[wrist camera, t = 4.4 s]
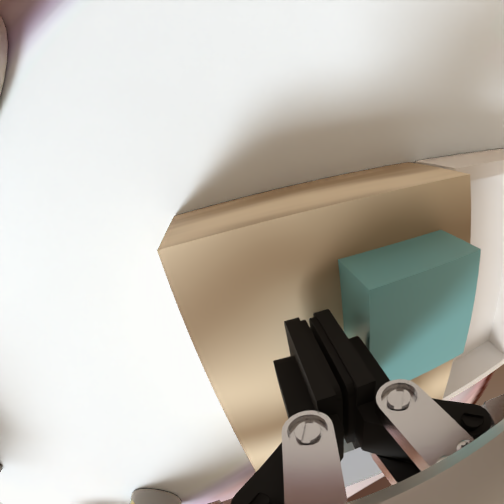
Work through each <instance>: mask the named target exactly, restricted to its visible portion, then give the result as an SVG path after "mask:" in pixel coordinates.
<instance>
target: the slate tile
mask: <svg viewBox="0 0 504 504" xmlns="http://www.w3.org/2000/svg"><path fill="white" fill-rule="evenodd" d="M340 463H341V468H342V474H343V479H344V485H345V487H347V486H350V485H352V484H355V483H358V482H360V481H363V480H366V479H368V478H371V477H373V476H375V475H378V474H380V473H382V471H381V470H380V468H379V467H378V466H377V464H376V463H375V461H374V460H373V459H372V457H371V455H370V452H366V451H363V450H362V449H361V447H360V448H357V449H355V448H354V446H353V444H352V442H350V443H348V444H347V443H346V441H345V439H344V457H343V459H342V460H341V462H340Z"/></svg>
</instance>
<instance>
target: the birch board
mask: <svg viewBox="0 0 504 504" xmlns="http://www.w3.org/2000/svg"><path fill="white" fill-rule="evenodd" d="M438 230H443V231H445V232H447V233H449V234H452V235H454V236H456V237H458V238H460V239H462V240H464V241H466V242H468V243H470V239H471V182H470V174H467V173H463V172H458V171H453V170H449V169H444V168H439V167H434V166H428V165H423V164H417V163H411V162H406V163H400V164H395V165H389V166H384V167H378V168H373V169H368V170H363V171H358V172H353V173H348V174H343V175H338V176H333V177H329V178H324V179H319V180H315V181H310V182H306V183H301V184H297V185H292V186H288V187H284V188H280V189H275V190H271V191H267V192H263V193H259V194H255V195H251V196H247V197H243V198H239V199H235V200H231V201H227V202H224V203H220V204H216V205H212V206H209V207H205V208H201V209H198V210H194V211H190V212H187V213H183V214H180V215H176V216H174V217H173V219H172V221H171V223H170V225H169V227H168V229H167V231H166V233H165V236H164V238H163V240H162V242H161V244H160V246H159V248H158V250H157V251H158V254H159V256H160V259H161V262H162V265H163V268H164V271H165V273H166V276H167V279H168V281H169V284H170V287H171V289H172V292H173V295H174V297H175V300H176V303H177V305H178V308H179V310H180V313H181V315H182V318H183V320H184V323H185V325H186V328H187V330H188V332H189V335H190V337H191V340H192V342H193V344H194V347H195V349H196V351H197V354H198V356H199V358H200V361H201V363H202V365H203V367H204V370H205V372H206V374H207V376H208V378H209V381H210V383H211V385H212V387H213V389H214V391H215V393H216V396H217V398H218V400H219V402H220V404H221V406H222V408H223V410H224V412H225V414H226V416H227V418H228V420H229V422H230V424H231V426H232V428H233V430H234V432H235V434H236V436H237V438H238V440H239V442H240V444H241V446H242V447H243V449H244V451H245V453H246V455H247V457H248V459H249V460H250V462H251V464H252V466H253V468H254V469H255V471H256V472H257V471H258V469H259V468H260V467H261V466H262V465H263V464H264V463H265V461H266V460H267V459H268V458H269V457H270V456H271V454H272V453H273V452H274V451H275V450H276V448H277V447H278V446H279V445H280V444H281V442H282V427H283V425H284V424H285V422H286V421H287V420H288V416H287V412H286V409H285V405H284V402H283V398H282V395H281V391H280V387H279V383H278V380H277V376H276V372H275V367H274V363H273V361H274V360H278V359H282V358H285V357H289V356H290V351H289V345H288V340H287V335H286V330H285V325H284V321H287V320H290V319H294V318H298V317H299V318H300V320H306V321H307V323H308V325H309V327H310V323H309V318H312V317H313V314H314V313H315V312H319V311H322V310H326V309H329V310H330V312H331V313H332V315H333V316H334V318H335V319H336V321H337V322H338V324H339V325H340V327H341V328H342V330H343V331H344V325H343V311H342V298H341V286H340V276H339V266H338V259H341V258H345V257H349V256H352V255H356V254H359V253H363V252H366V251H370V250H374V249H377V248H381V247H384V246H387V245H391V244H394V243H398V242H401V241H405V240H408V239H411V238H415V237H418V236H422V235H425V234H428V233H431V232H435V231H438ZM453 359H454V358H453ZM453 359H451V360H449V361H448V362H446V363H444V364H442V365H440V366H438V367H436V368H434V369H432V370H430V371H428V372H426V373H424V374H422V375H420V376H418V377H416V378H414V379H412V380H409V381H412V382H414V383H415V384H417V385H418V386H419V387H420V388H421V389H422V390H423V391H424V392H425V393H427V394H428V395H429V396H430V397H431V398H434V399H440V400H442V399H443V395H444V392H445V389H446V385H447V382H448V378H449V375H450V371H451V367H452V363H453Z"/></svg>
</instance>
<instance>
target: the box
mask: <svg viewBox="0 0 504 504" xmlns="http://www.w3.org/2000/svg"><path fill="white" fill-rule="evenodd" d="M415 163H417V164H423V165H428V166H434V167H439V168H444V169H449V170H453V171H458V172H463V173H467V174H470V182H471V239H470V244H472V245H474V246H476V247H478V248H480V249H481V254H480V264H479V273H478V280H477V287H476V294H475V300H474V306H473V311H472V317H471V321H470V326H469V331H468V335H467V340H466V344H465V348H464V352H463V353H462V354H460V355H459V356H457V357H455V358H454V359H453V363H452V367H451V371H450V375H449V378H448V382H447V385H446V389H445V392H444V395H443V399H442V400H446V401H448V400H450V399H451V398H453V397H455V396H456V395H458V394H460V393H461V392H463V391H464V390H466V389H468V388H469V387H471V386H472V385H474V384H475V383H477V382H478V381H480V380H481V379H483V378H484V377H486V376H487V375H489V374H490V373H491V372H493V371H494V370H496V369H497V368H498V367H500V366H501V365H502V364H504V148H503V149H494V150H486V151H478V152H471V153H463V154H456V155H450V156H443V157H436V158H430V159H424V160H418V161H415Z"/></svg>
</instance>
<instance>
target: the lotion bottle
mask: <svg viewBox="0 0 504 504" xmlns="http://www.w3.org/2000/svg"><path fill="white" fill-rule="evenodd" d="M130 504H181V500H180V498H179V497H178V496H176V495H174V494H172V493H169V492H166V491H162V490H156V489H138V490H135V491H134V492H133V493H132V496H131V503H130Z"/></svg>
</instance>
